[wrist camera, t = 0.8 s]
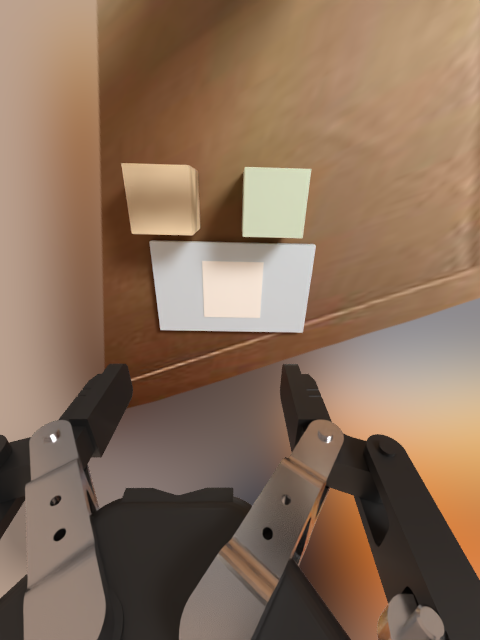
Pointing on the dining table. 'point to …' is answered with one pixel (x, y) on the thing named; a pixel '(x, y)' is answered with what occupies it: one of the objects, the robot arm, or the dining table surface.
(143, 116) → the dining table surface
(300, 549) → the robot arm
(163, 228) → the maple block
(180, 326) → the white rectangular board
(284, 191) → the sage block
